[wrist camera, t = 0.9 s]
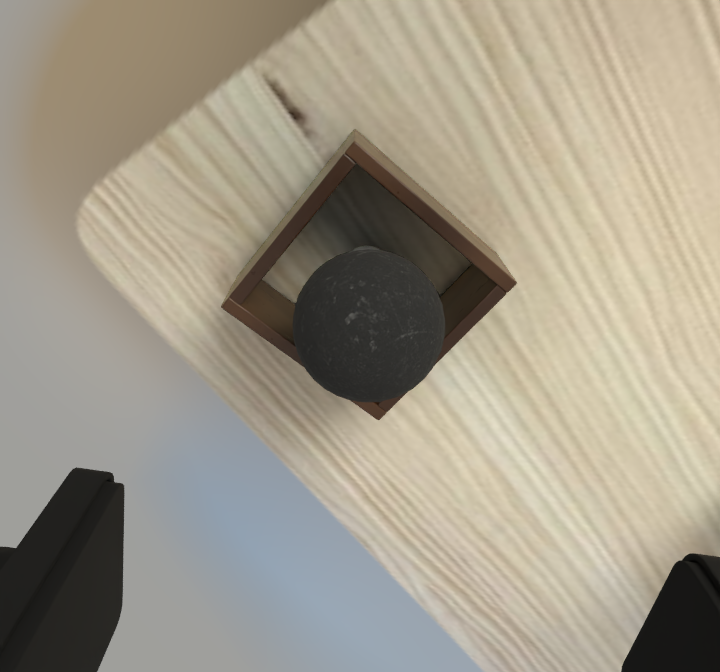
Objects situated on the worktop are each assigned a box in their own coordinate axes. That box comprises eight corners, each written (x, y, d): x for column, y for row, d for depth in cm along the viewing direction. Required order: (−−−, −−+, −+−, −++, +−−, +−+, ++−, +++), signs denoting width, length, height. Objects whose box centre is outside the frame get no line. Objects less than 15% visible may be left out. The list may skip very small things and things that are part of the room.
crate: (237, 275, 29) (220, 307, 25) (354, 128, 26) (354, 140, 23) (376, 378, 31) (378, 421, 28) (497, 254, 29) (517, 283, 25)
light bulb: (284, 246, 28) (249, 337, 19) (387, 182, 27) (400, 247, 18) (348, 338, 30) (343, 459, 21) (446, 282, 29) (485, 386, 20)
